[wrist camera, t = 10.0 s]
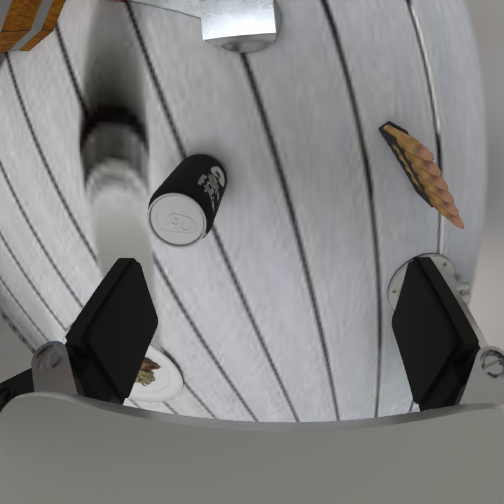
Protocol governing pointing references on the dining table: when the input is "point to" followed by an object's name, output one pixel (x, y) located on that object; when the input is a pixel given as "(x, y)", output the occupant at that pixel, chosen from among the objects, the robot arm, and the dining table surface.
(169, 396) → the plated food
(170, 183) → the beverage can
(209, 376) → the dining table surface
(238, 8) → the brushed metal block
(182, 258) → the dining table surface
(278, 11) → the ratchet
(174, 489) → the robot arm
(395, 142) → the ammunition clip
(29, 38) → the mug
